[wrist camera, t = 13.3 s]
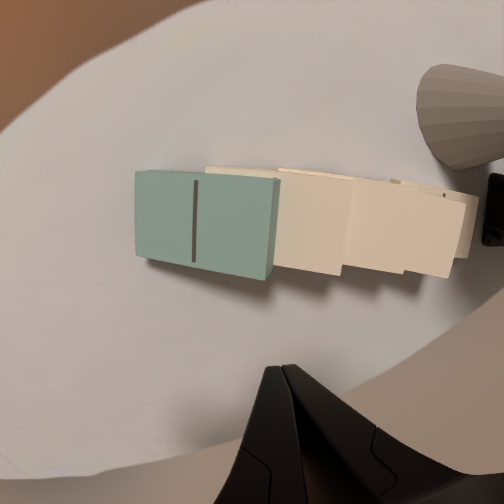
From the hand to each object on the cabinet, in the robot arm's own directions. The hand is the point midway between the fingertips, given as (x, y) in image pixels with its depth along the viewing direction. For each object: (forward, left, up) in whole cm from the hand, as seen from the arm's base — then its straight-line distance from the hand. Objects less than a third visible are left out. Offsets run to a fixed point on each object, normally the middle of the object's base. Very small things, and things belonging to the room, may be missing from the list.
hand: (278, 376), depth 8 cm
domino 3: (-2, -3, -12) cm, 12 cm away
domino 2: (+2, -3, -12) cm, 12 cm away
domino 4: (-6, -2, -12) cm, 13 cm away
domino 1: (+6, -3, -12) cm, 14 cm away
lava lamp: (-17, -10, -13) cm, 23 cm away
